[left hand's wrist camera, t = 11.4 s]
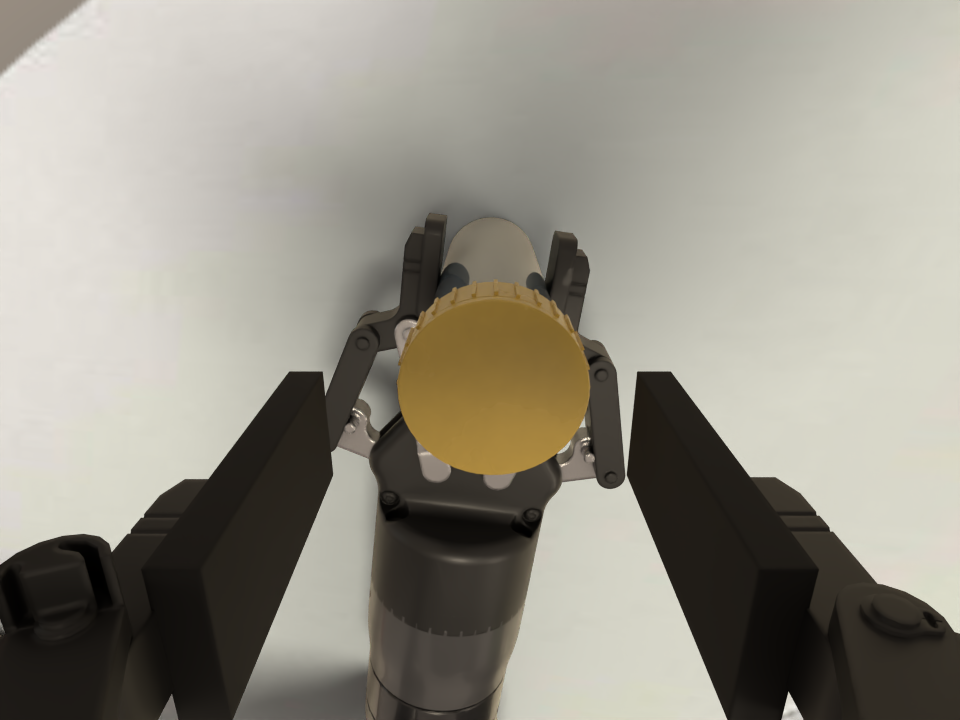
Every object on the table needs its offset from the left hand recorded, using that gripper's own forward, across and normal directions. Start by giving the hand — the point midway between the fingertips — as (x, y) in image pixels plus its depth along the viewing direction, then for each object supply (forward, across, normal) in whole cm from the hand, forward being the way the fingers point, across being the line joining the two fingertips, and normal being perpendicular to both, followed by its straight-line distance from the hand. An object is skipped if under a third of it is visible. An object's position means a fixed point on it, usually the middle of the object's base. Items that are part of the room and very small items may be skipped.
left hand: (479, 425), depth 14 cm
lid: (+2, 0, 0) cm, 2 cm away
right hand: (+11, -1, -3) cm, 11 cm away
